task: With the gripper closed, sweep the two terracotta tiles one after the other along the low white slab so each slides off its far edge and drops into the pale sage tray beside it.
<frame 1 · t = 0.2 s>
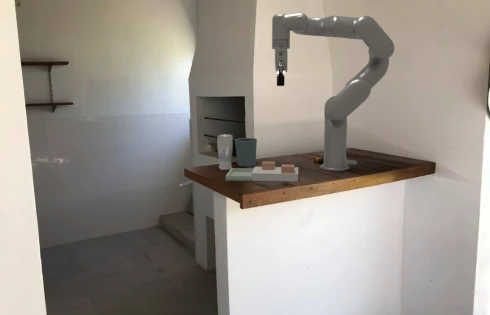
hand: (280, 85, 181), 36 cm above the table, tool pointing down, fingers open, 9 cm apart
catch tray: (240, 176, 170), on the table
far tile: (268, 168, 172), point 3 cm above the table, touching white slab
beer glass: (225, 169, 187), on the table
grey cup: (246, 165, 196), on the table
white slab: (275, 177, 169), on the table
near tile: (287, 171, 165), point 3 cm above the table, touching white slab
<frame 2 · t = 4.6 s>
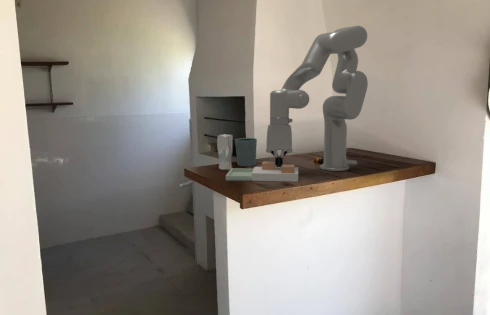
hand: (278, 166, 171), 4 cm above the table, tool pointing down, fingers closed
far tile: (268, 168, 172), point 3 cm above the table, touching white slab, gripper
everything else where it was.
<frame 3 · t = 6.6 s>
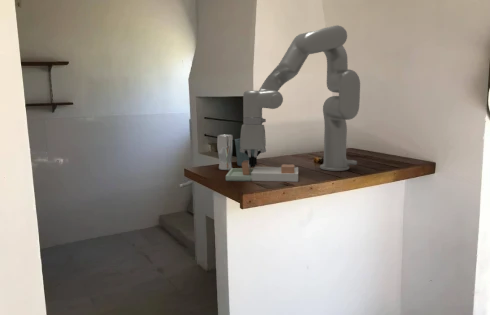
hand: (252, 166, 172), 4 cm above the table, tool pointing down, fingers closed
far tile: (249, 167, 173), point 3 cm above the table, tilted 97°, touching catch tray
everything else where it was.
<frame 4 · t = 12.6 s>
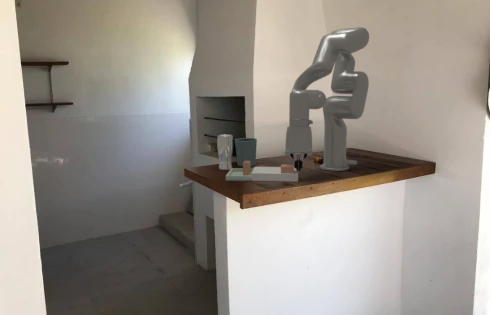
hand: (298, 170, 164), 4 cm above the table, tool pointing down, fingers closed
far tile: (249, 167, 173), point 3 cm above the table, tilted 90°, touching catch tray
near tile: (287, 171, 165), point 3 cm above the table, touching gripper
everything else where it was.
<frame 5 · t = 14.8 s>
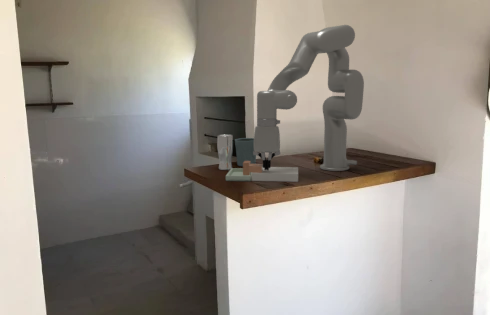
hand: (266, 169, 165), 4 cm above the table, tool pointing down, fingers closed
near tile: (255, 171, 166), point 3 cm above the table
everything else where it was.
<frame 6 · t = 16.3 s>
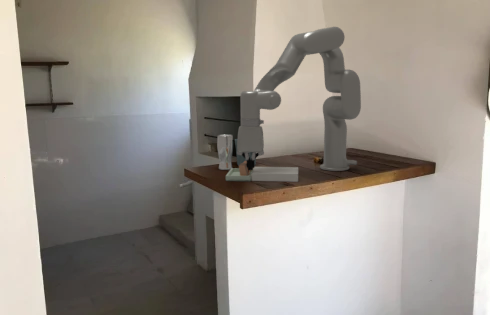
hand: (250, 169, 166), 4 cm above the table, tool pointing down, fingers closed
near tile: (246, 170, 167), point 3 cm above the table, tilted 99°, touching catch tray, gripper
everything else where it was.
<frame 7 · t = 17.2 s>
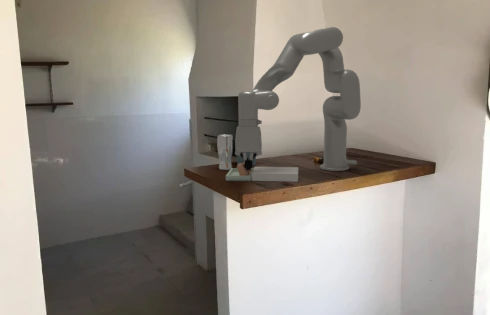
hand: (248, 169, 166), 4 cm above the table, tool pointing down, fingers closed
near tile: (245, 169, 167), point 4 cm above the table, tilted 108°, touching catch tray, gripper
everything else where it was.
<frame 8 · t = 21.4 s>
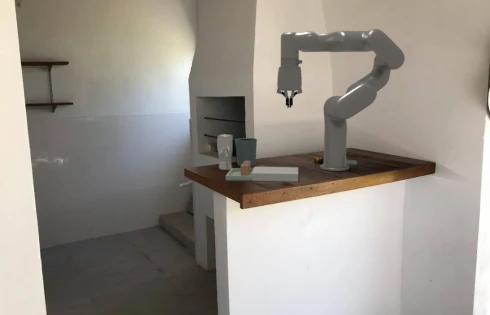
hand: (289, 107, 178), 27 cm above the table, tool pointing down, fingers closed
near tile: (247, 170, 167), point 3 cm above the table, tilted 90°, touching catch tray
everything else where it was.
at the end: far tile inside the target area (5.0 cm from its centre), point 3.1 cm above the table; near tile inside the target area (4.4 cm from its centre), point 3.1 cm above the table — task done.
